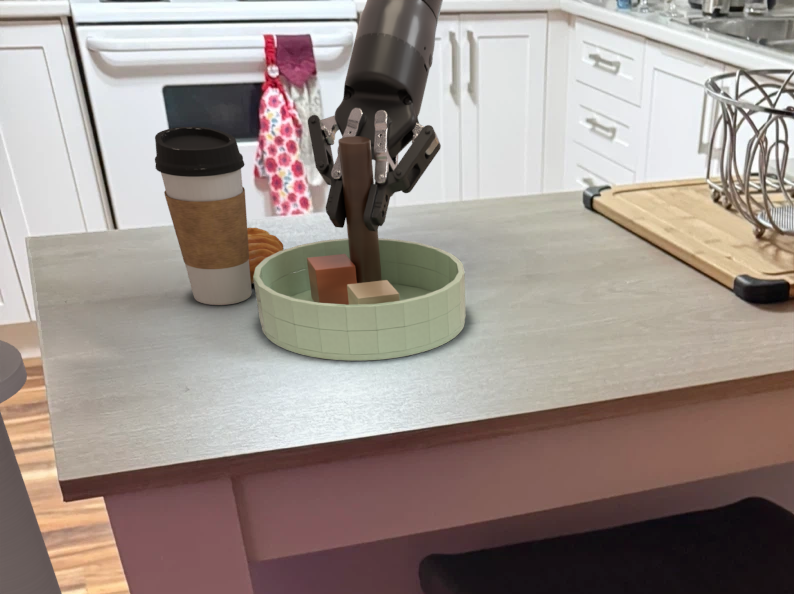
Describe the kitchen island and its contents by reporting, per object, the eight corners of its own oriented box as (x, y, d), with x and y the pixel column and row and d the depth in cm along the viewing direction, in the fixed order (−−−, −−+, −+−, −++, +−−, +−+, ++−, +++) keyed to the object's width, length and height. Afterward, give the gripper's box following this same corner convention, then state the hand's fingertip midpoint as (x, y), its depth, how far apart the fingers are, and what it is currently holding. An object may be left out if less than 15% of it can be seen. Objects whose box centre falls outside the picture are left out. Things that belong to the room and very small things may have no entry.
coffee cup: (235, 276, 114) (210, 121, 104) (279, 296, 109) (257, 136, 100) (166, 293, 109) (132, 133, 99) (208, 315, 105) (178, 150, 95)
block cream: (361, 340, 99) (357, 298, 97) (350, 326, 102) (346, 284, 99) (402, 335, 100) (399, 293, 98) (390, 321, 103) (387, 279, 101)
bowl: (285, 373, 95) (277, 317, 91) (244, 299, 109) (236, 249, 105) (493, 344, 101) (493, 291, 97) (429, 278, 115) (427, 230, 111)
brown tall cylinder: (357, 298, 106) (342, 144, 97) (350, 288, 108) (334, 137, 99) (386, 294, 107) (374, 142, 98) (378, 285, 109) (365, 135, 100)
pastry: (294, 286, 112) (289, 248, 109) (230, 292, 110) (224, 254, 108) (283, 258, 119) (278, 223, 116) (222, 264, 117) (216, 228, 114)
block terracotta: (320, 311, 105) (315, 269, 102) (311, 298, 108) (306, 257, 105) (359, 306, 106) (355, 265, 103) (349, 293, 109) (345, 253, 106)
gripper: (310, 24, 100) (270, 195, 99) (448, 34, 97) (408, 210, 96) (340, 79, 107) (302, 238, 106) (469, 89, 104) (431, 253, 103)
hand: (353, 224), depth 101 cm, fingers closed on brown tall cylinder, 3 cm apart
